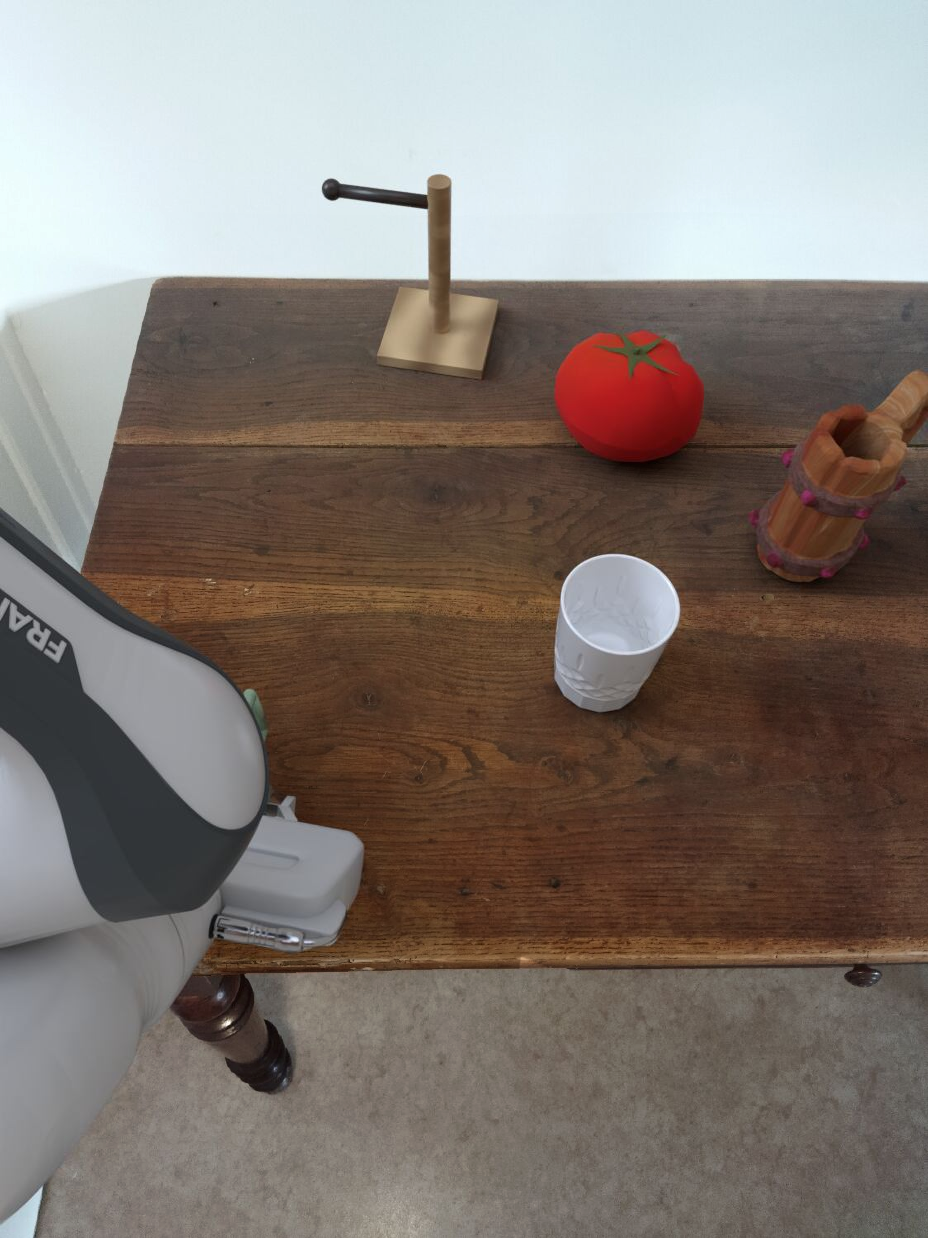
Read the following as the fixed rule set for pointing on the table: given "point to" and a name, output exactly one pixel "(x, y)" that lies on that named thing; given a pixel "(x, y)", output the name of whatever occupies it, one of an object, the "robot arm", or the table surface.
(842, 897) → the table surface
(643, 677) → the white cup
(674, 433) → the tomato
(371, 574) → the table surface
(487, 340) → the mug stand
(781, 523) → the mug
